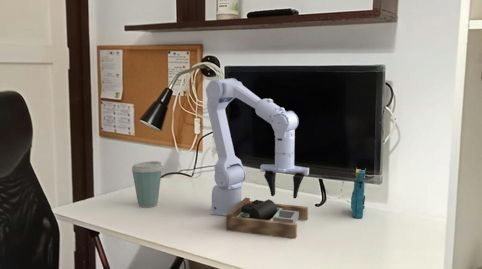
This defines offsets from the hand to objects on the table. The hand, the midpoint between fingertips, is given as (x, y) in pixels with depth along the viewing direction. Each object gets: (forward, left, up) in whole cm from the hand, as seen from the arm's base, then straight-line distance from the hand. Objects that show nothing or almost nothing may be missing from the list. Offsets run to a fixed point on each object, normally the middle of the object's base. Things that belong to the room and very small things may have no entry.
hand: (284, 196), depth 153 cm
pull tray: (-5, 0, -9) cm, 10 cm away
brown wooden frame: (-6, 0, -9) cm, 11 cm away
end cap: (-8, 0, -10) cm, 12 cm away
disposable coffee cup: (-50, +6, -10) cm, 51 cm away
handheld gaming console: (+20, +19, -10) cm, 29 cm away
